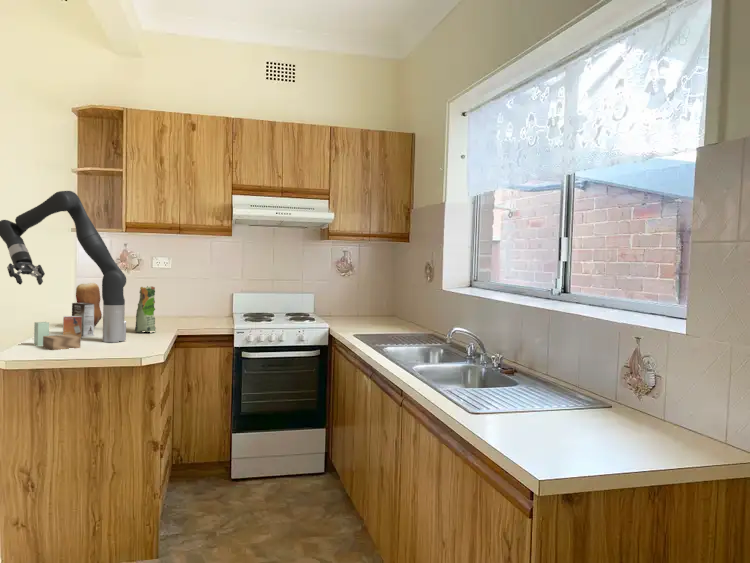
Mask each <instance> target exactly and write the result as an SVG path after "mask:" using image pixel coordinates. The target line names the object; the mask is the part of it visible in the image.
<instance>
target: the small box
mask: <svg viewBox="0 0 750 563" xmlns="http://www.w3.org/2000/svg"><path fill="white" fill-rule="evenodd" d="M62 323H63V324H62V335H74V336H78V337H81V338H82V336H81V335H82V316H72V315H63V322H62Z"/></svg>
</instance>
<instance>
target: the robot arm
mask: <svg viewBox="0 0 750 563" xmlns="http://www.w3.org/2000/svg"><path fill="white" fill-rule="evenodd" d="M60 212H67V214H69V216H70V218H71V219H72V220H73V223H74V227H75V233H76V239H77V241H78V243H79V245H81V248H82V249H83V250H84V252H85V253H86V254H87V256H88V257H89V258H90V259H91V260H92V261H93V262H94V263H95V264H96V265H97V266H98V268H99V270H100V272H101V273H102V275H103V276H102V279H101V297H102V302H103V304H102V305H103V306H102V311H103V312H102V342H104V343H120V342H119V341H122V342H125V341H124V340H126V341H127V320H125V308H126V307H125V304H126V303H125V302H126V300H125V296H124V287H125V286H126V284H127V276H126V275H125V273H124V272H123V271H122V269H121V268H120V267H119V265H118V264H117V263H116V262H115V260H114V259H113V257H112V254H111V253H110V251H109V249H108V247H107V245H106V243H105V242H104V239H103V238H102V237H101V235H100V233H99V232H98V230H97V229H96V227H95V226H94V223H93V222H92V220H91V218H90V217H89V215H88V213H87V211H86V209H85V207H84V205H83V202H82V201H81V199H80V197H79V196H78V195H77V193H76V192H74V191H72V190H60V191H57V192H54V193H53V194H52V195H51V196H49V197H48V198H47V199H46V200H44V201H43V202H42V203H40V204H38V205H37V206H34V207H33V208H31V209H29V210H27V211H25V212H23V213H21V214H19V215H18V216H16V217H15V220H14V221H15V222H13V221H10V220H8V219H1V220H0V238H1V239H2V241H3V242H4V243H5V245H6V247H7V250H8V254H9V256H10V259H11V260H10V261H11V262H12V263H11V262H10V263H9V264H8V265H7V267H6V269H7V271H8V272H7V273H8V275H9V278H14V279H15V280H16V283H17V284H18V285H22V284H23V278H22V276H21V275H20V274H22V275H28V276H29V275H30V276H31V277H34V278H36V281H37V284H38V285H39V286H41V285H42V284H43V283H44V281H43V280H44V279H43V278H44V277H45V271H44V268H43V267H42V265H41V264H38V265H34V264H33V260H32V257H31V255H30V252H29V250H28V247H26V244H25V241H24V239H23V237H22V235H23V234H24V233H26V232H27V231H28V229H31V228H32V227H35V226H37V225H38V224H40V223H41V222H43V220H45V219H46V218H48V217H49V216H51V215H54V214H57V213H60ZM15 270H16V271H17V272H15Z"/></svg>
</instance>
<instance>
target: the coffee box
mask: <svg viewBox="0 0 750 563" xmlns="http://www.w3.org/2000/svg"><path fill="white" fill-rule="evenodd" d="M71 316H82V335H81V337H88V336H87V335H90V336H95V334H94V333H95V332H94V331H95V330H94V329H95V327H94V304H92V303H83V302H82V303H77V302H72V303H71Z"/></svg>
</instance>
